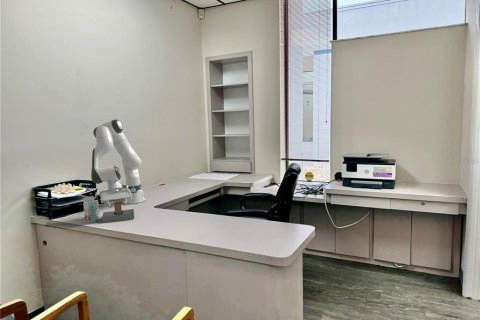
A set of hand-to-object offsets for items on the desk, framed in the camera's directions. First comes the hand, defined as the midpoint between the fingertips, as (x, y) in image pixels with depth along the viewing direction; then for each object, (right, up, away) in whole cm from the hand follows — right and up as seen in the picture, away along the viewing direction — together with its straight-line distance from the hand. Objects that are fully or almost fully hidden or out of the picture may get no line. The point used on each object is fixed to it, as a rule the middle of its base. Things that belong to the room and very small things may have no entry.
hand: (118, 206), depth 223 cm
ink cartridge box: (-20, -9, +6) cm, 23 cm away
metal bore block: (0, -9, +2) cm, 9 cm away
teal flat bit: (-14, -10, -4) cm, 18 cm away
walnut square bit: (0, -9, +2) cm, 9 cm away
